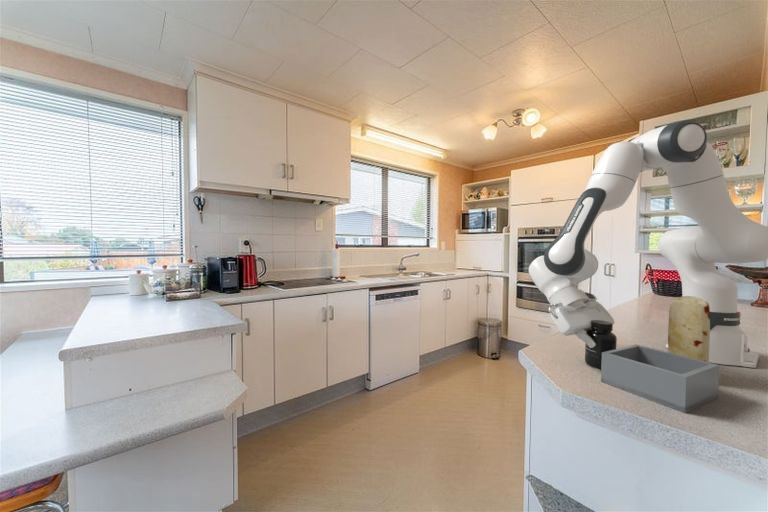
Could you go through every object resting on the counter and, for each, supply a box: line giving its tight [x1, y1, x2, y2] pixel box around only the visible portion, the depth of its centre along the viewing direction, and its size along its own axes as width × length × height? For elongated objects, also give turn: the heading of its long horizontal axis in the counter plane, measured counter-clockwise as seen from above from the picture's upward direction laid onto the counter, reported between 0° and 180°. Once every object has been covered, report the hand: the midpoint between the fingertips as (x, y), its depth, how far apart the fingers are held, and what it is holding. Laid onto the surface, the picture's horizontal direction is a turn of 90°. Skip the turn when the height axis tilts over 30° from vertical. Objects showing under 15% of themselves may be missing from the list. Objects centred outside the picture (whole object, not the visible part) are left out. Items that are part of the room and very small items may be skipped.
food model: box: [667, 296, 710, 363], centre depth 75 cm, size 10×7×20 cm
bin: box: [600, 344, 720, 414], centre depth 68 cm, size 15×15×7 cm
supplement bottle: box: [584, 320, 618, 370], centre depth 81 cm, size 7×7×12 cm
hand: (603, 344), depth 80 cm, fingers closed on supplement bottle, 7 cm apart
